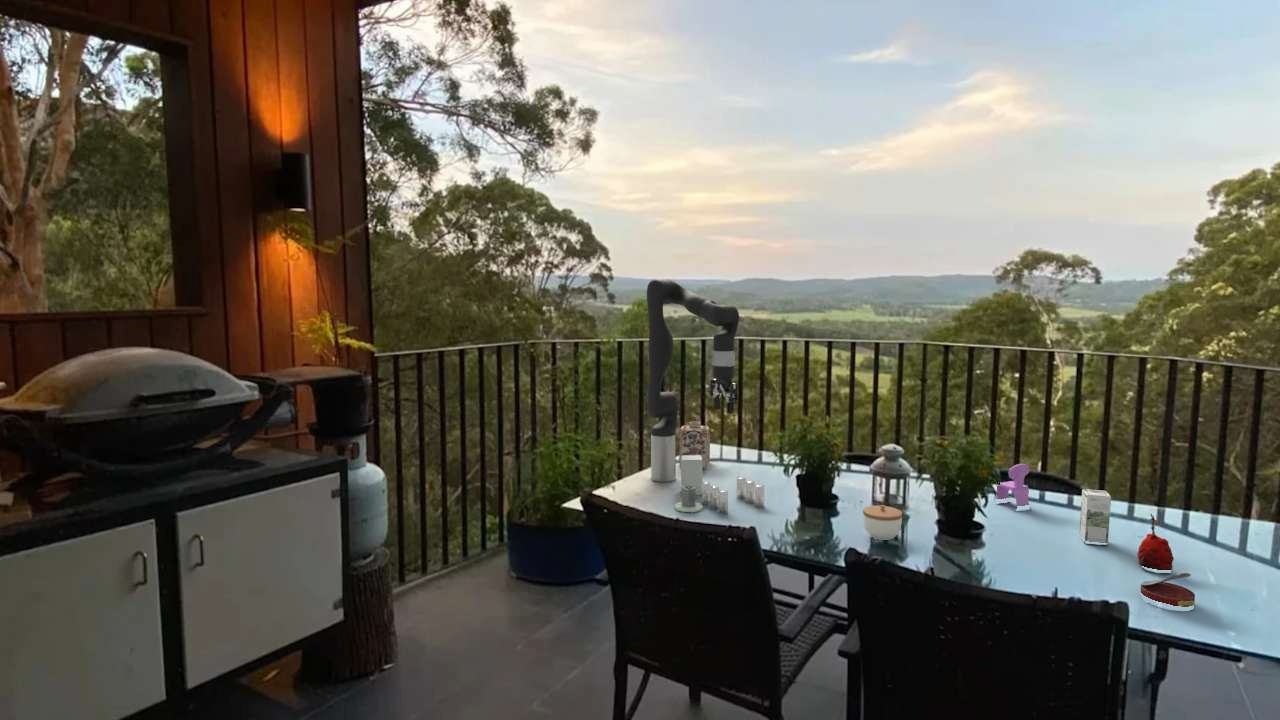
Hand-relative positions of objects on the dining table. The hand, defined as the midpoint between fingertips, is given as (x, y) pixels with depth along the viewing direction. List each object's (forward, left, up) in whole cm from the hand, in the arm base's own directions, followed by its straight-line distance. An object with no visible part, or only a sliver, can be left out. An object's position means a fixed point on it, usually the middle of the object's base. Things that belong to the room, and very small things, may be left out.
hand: (723, 411), depth 239 cm
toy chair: (+51, +79, -30) cm, 99 cm away
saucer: (+6, -17, -30) cm, 35 cm away
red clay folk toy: (+102, +64, -30) cm, 124 cm away
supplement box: (-10, -7, -30) cm, 33 cm away
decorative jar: (-43, +13, -30) cm, 54 cm away
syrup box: (+83, +70, -30) cm, 113 cm away
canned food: (+114, +47, -30) cm, 127 cm away
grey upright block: (+6, -17, -29) cm, 34 cm away
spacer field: (+9, -2, -30) cm, 31 cm away
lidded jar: (+54, +20, -30) cm, 65 cm away
